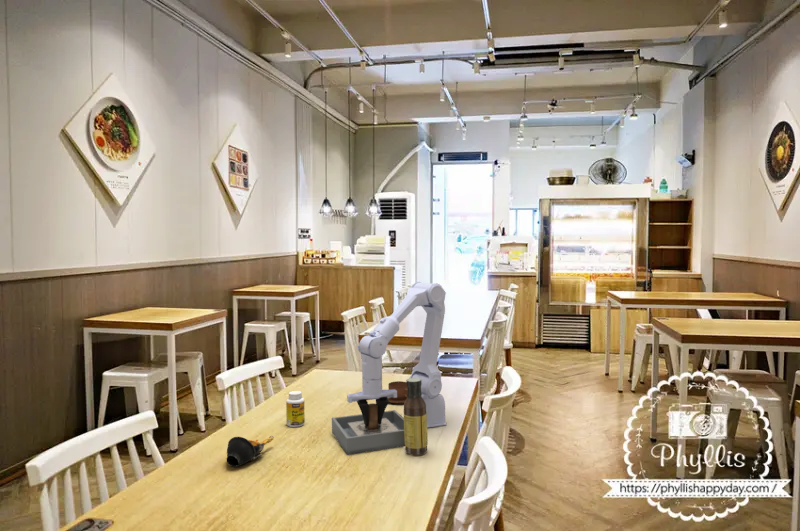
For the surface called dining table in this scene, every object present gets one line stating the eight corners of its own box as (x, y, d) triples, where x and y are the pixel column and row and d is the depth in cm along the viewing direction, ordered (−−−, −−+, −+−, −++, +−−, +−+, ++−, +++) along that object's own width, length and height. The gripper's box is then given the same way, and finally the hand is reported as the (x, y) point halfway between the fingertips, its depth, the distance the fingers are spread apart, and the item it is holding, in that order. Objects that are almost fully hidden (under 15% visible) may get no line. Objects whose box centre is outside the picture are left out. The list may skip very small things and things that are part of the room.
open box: (394, 424, 166) (394, 410, 166) (416, 444, 149) (416, 428, 149) (331, 432, 159) (331, 417, 159) (347, 455, 143) (346, 438, 142)
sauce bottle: (420, 445, 149) (420, 375, 148) (431, 453, 143) (431, 380, 142) (400, 449, 146) (399, 377, 145) (410, 458, 140) (409, 383, 139)
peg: (376, 430, 156) (376, 402, 156) (379, 433, 153) (379, 406, 153) (365, 431, 155) (365, 404, 155) (369, 435, 152) (368, 407, 152)
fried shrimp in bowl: (212, 453, 134) (242, 415, 148) (232, 482, 136) (260, 442, 150) (236, 446, 131) (264, 407, 145) (256, 475, 134) (282, 435, 148)
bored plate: (385, 425, 162) (385, 417, 162) (399, 439, 151) (399, 430, 151) (347, 430, 158) (347, 422, 158) (358, 445, 147) (358, 436, 147)
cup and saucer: (421, 399, 193) (421, 382, 193) (404, 408, 183) (403, 390, 183) (393, 394, 200) (393, 378, 199) (375, 402, 189) (375, 385, 189)
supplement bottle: (290, 429, 163) (290, 396, 162) (283, 424, 167) (283, 391, 167) (307, 425, 166) (307, 393, 165) (300, 420, 170) (300, 389, 170)
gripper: (391, 372, 160) (391, 416, 160) (344, 376, 155) (344, 422, 156) (399, 377, 153) (399, 424, 154) (350, 382, 148) (351, 430, 149)
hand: (372, 424), depth 154 cm, fingers closed on peg, 3 cm apart
